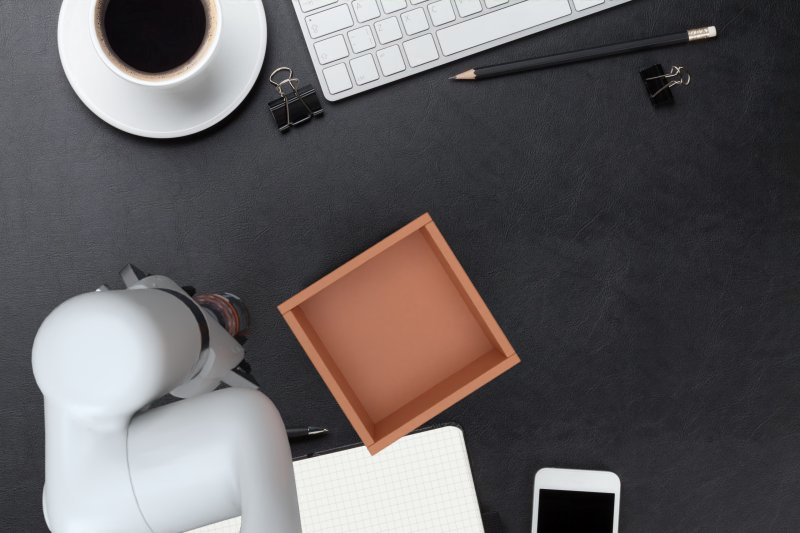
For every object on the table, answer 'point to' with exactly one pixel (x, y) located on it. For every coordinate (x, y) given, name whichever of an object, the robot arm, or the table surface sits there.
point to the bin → (399, 333)
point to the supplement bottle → (227, 311)
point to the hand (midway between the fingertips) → (208, 324)
